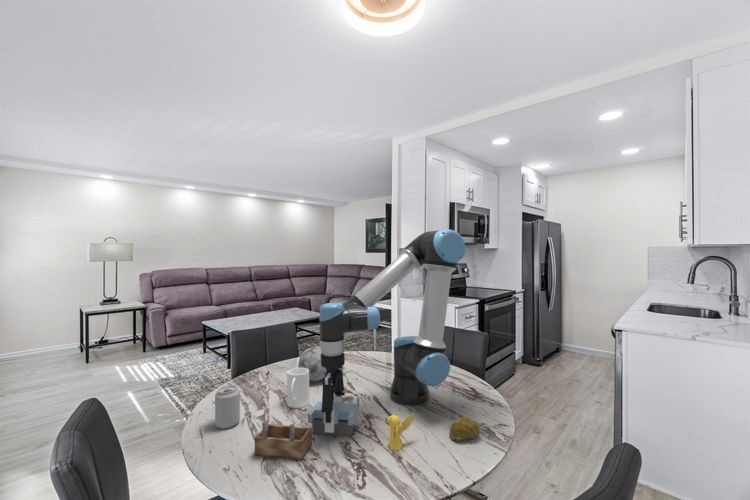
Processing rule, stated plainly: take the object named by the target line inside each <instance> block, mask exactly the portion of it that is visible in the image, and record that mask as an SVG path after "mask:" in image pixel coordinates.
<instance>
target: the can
mask: <svg viewBox="0 0 750 500" xmlns="http://www.w3.org/2000/svg"><path fill="white" fill-rule="evenodd" d="M240 393H241V391H240V390H239V389H238V386H237V385H235V384H229V385H223V386H220V387H219V388H217V390H216V392H215V395H214V418H215V419H214V420H215V421H214V423H215V424H214V425H215V427H217V428H218V429H220V430H227V429H231V428H234V427H235V426H237V425H238V423H239V422H240V421H241V414H240V413H241V409H240V408H241V407H240V406H241V404H240V402H241V401H240V400H241V399H240V396H241V395H240Z"/></svg>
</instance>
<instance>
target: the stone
mask: <svg viewBox="0 0 750 500" xmlns="http://www.w3.org/2000/svg"><path fill="white" fill-rule="evenodd" d="M321 354H322V353H321V346H318V345H317V346H312V347H308V348H307V349H305V350H304V351H302V353H301V354H300V356H299V359H298V365H297V366H298V367H297V368H307V369H309V382H313V383H315V382H319V381H322V379H323V377H325V373H326V368H324V367H322V366H321Z"/></svg>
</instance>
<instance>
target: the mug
mask: <svg viewBox="0 0 750 500" xmlns="http://www.w3.org/2000/svg"><path fill="white" fill-rule="evenodd" d="M286 378H287V379H286V381H287V382H286V383H287V384H286V392H287V393H286V397H287V399H286V400H287V401H286V405H287V406H288V407H289V408H292V409H297V408H303V407H307V406H308V405H309V404H310V402H311V399H310V381H309V369H307V368H298V367H294V368H291V369H289V370H287V372H286Z"/></svg>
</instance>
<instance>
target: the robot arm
mask: <svg viewBox="0 0 750 500" xmlns="http://www.w3.org/2000/svg"><path fill="white" fill-rule="evenodd" d="M465 254H466V243H465V240H464V238H463V237H462V235H461V234H460V233H459V232H458V231H456V230H453V229H444V228H442V229H439V230H438V229H437V230H430V231H425V232H423V233H421V234H420V235H418V236H416V238H414V239H413V240H412V241H411V242H409V244H407V245H406V246H405V247H404V248H403V249H402V250H401V254H400V255H399V256H398V257H397V258H395V259H393V261H392V262H391V263H390V264H389V265H388V266H386V267H385V268H384V269H383V270H381V272H379V273H378V274H377V275H376V276H375V277H374V278H372V279H371V280H370V281H369V282H368V283H367V284H365V285H364V286H363V287H362V288H361V289H360V290H358V292H356V294H354V295H353V296H352V297H351V298H349V299H348V300H344V301H342V302H340V303H339V302H328V303H323V304H322V305H320V307H319V319H318V320H319V333H320V334H319V337H320V341H319V343H318V345H320V347H321V353H322V354H321V366H322V367H324V368H326V373H325V377H323V379H321V381H322V396H321V398H322V400H321V402H322V409H321V411H322V412H324V414H325V432H328V433H334V410H333V402H336V403H343V396H344V397H345V395H346V392H345V386H344V375H343V366H345V363H346V362H345V361H346V359H345V358H346V357H345V353H344V352H345V333H346V334H347V333H355V332H362V331H363V332H364V331H368V332H370V331H372V330H376V329H378V328H379V326H380V324H381V314H380V311H379V309H378V307H376V306H375V305H376V304H377V303H378V302H379V301H380V300H381V299H383V298H384V297H385V296H386V295H387V294H388V293H389V292H390V291H392V289H393V288H395V287H396V286H397V285H398V284H399V283H400V282H401V281H403V279H405V277H407V276H408V275H409V274H410V273H411V272H413V270H415V269H420V268H422V266H424V268H425V269H426V278H425V279H426V280H425V285H424V293H423V299H422V307H421V314H420V315H421V316H420V322H419V331H418V335H410V336H408V335H406V336H400V337H399V336H398V337H396V338H394V341H393V367H394V368H393V373H394V374H393V375H394V376H393V379H392V382H391V385H390V389H389V397H390V399H391V400H392V401H393V402H395V403H398V404H400V405H407V406H408V405H409V406H410V405H411V406H412V405H420V404H421V405H422V404H423V403H426V402H427V401H428V400H429V399H430V391H429V387H428V386H430V387H434V386H435V387H436V386H439V385H440V384H442V383H443V382H444V381H446V379H447V378H448V376H449V374H450V372H451V362H450V360H449V358H448V356H447V355H446V351H447V345H446V343H445V342H444V340H443V339H444V335H445V333H444V332H445V327H446V326H445V324H446V319H447V310H448V302H449V296H450V295H449V294H450V286H451V281H452V280H451V279H452V273H454V272H455V271H456V270H457V268H458V262H460V261H461V259H463V258H464V256H465Z"/></svg>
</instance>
